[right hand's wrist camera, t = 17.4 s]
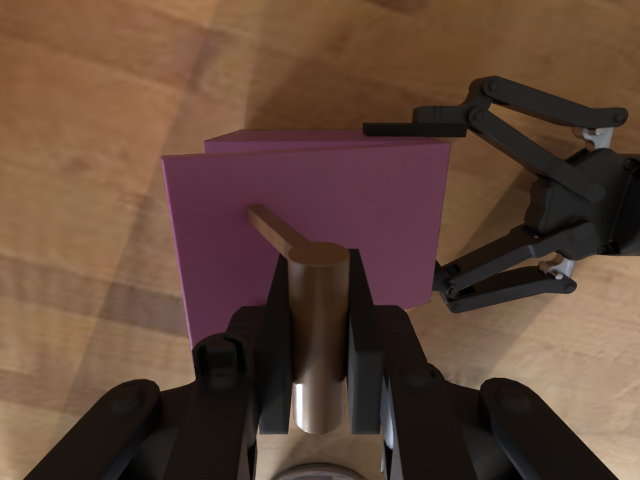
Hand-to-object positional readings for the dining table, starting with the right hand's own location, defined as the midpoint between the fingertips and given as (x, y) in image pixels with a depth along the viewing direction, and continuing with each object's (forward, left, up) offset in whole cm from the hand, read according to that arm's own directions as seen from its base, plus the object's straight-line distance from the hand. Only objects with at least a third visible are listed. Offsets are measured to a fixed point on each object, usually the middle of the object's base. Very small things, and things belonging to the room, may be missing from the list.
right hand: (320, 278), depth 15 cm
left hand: (+2, -3, -12) cm, 12 cm away
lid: (0, 0, -4) cm, 4 cm away
